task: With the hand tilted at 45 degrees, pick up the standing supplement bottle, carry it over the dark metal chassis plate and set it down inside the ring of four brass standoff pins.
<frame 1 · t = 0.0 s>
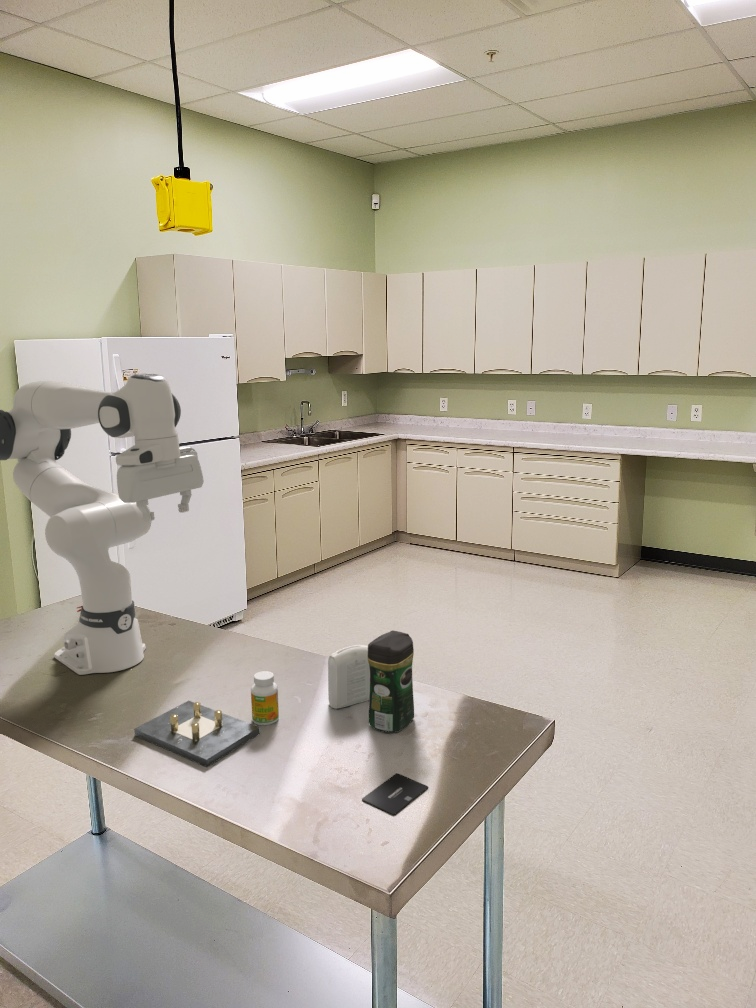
hand: (167, 516, 163), 39 cm above the table, tool pointing down, fingers open, 8 cm apart
coffee jar: (390, 723, 155), on the table
supplement bottle: (265, 720, 157), on the table
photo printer: (351, 702, 164), on the table
solid state drive: (395, 797, 131), on the table
chassis: (197, 734, 151), on the table
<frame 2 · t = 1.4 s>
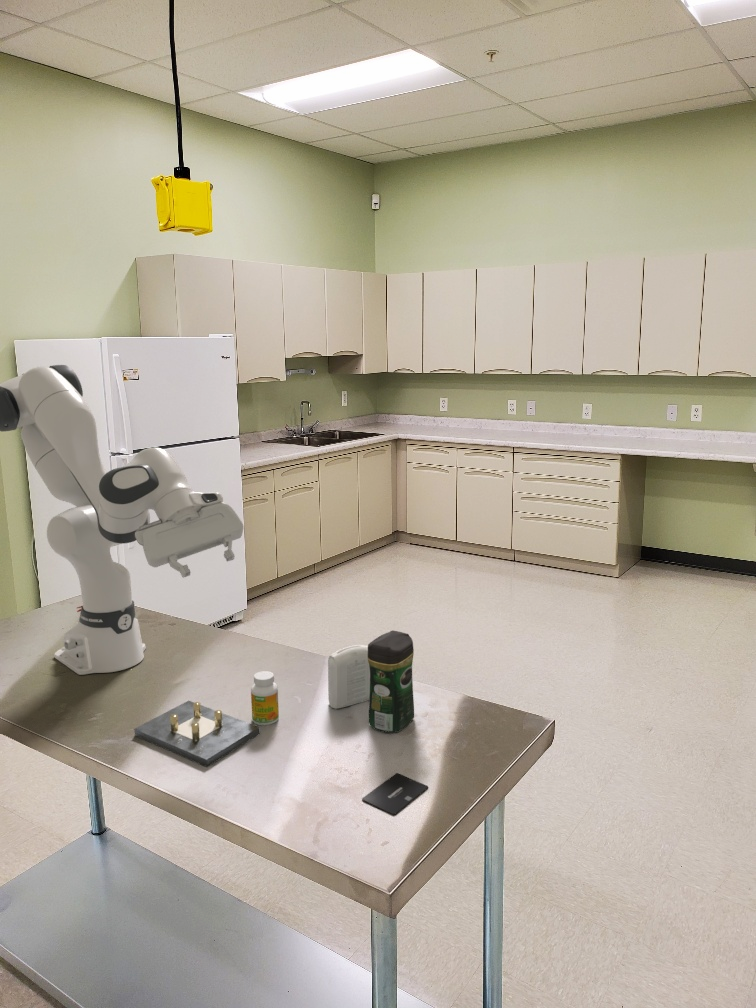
hand: (209, 567, 152), 32 cm above the table, tool tilted 50°, fingers open, 8 cm apart
nothing on the table moved.
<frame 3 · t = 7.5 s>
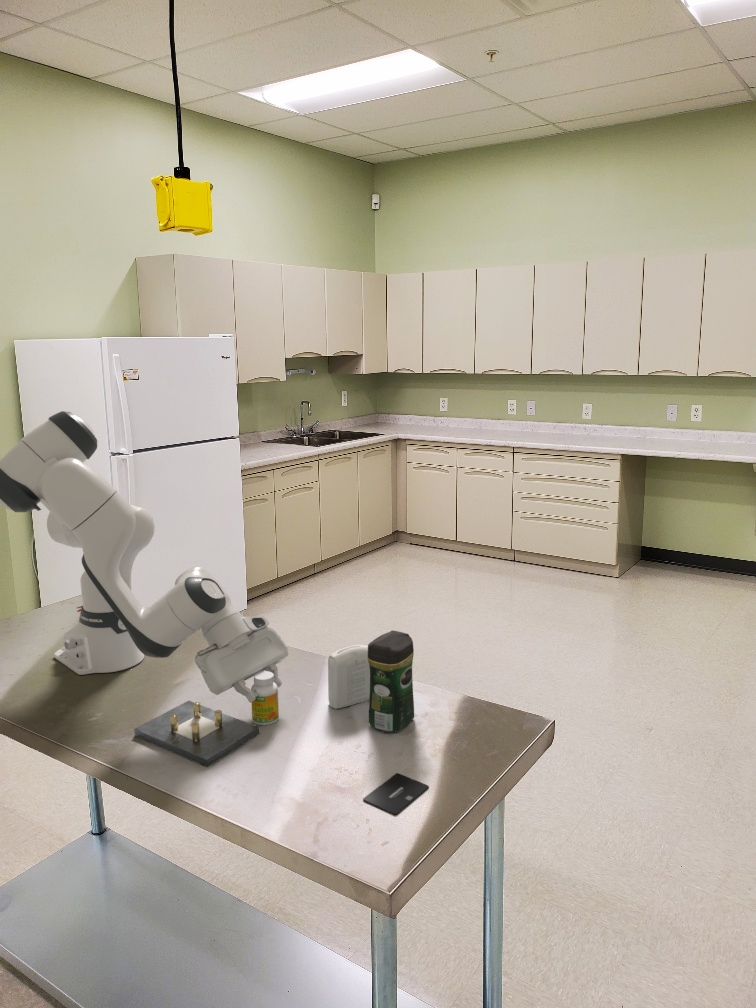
hand: (266, 693, 155), 6 cm above the table, tool tilted 45°, fingers closed on supplement bottle, 5 cm apart
supplement bottle: (265, 720, 157), on the table, touching gripper
everything else where it was.
when the fingers open (11 cm above the table, at t = 13.7 s): supplement bottle drops 2 cm, resting on chassis.
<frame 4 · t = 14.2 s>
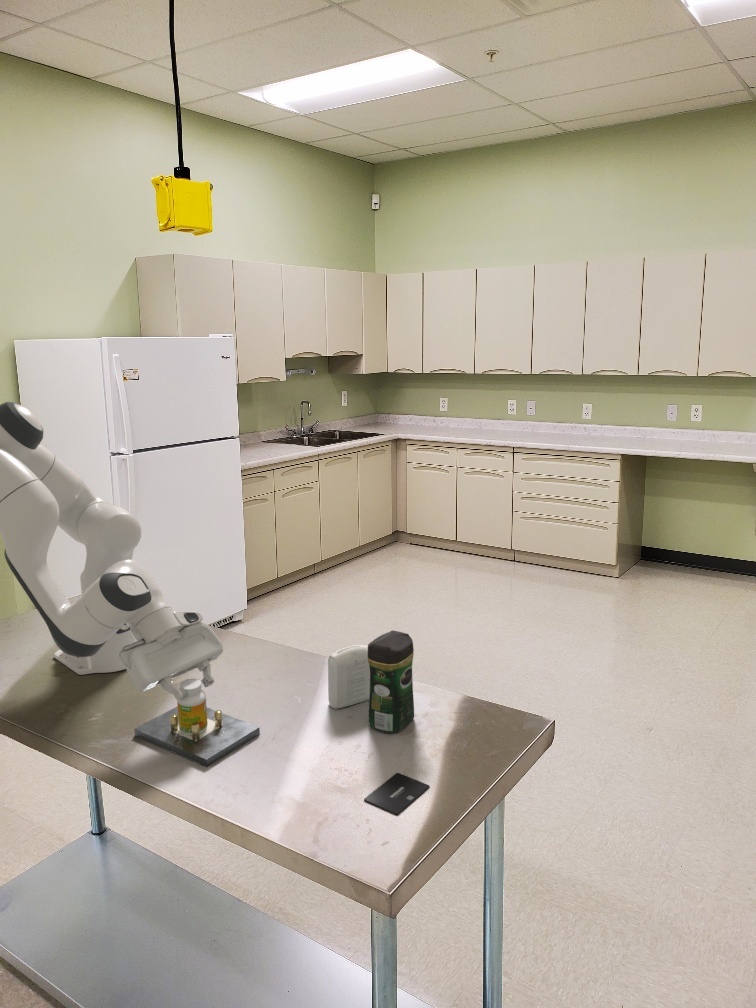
hand: (196, 691, 148), 10 cm above the table, tool tilted 45°, fingers open, 5 cm apart
supplement bottle: (193, 728, 150), point 2 cm above the table, touching chassis, gripper
everything else where it was.
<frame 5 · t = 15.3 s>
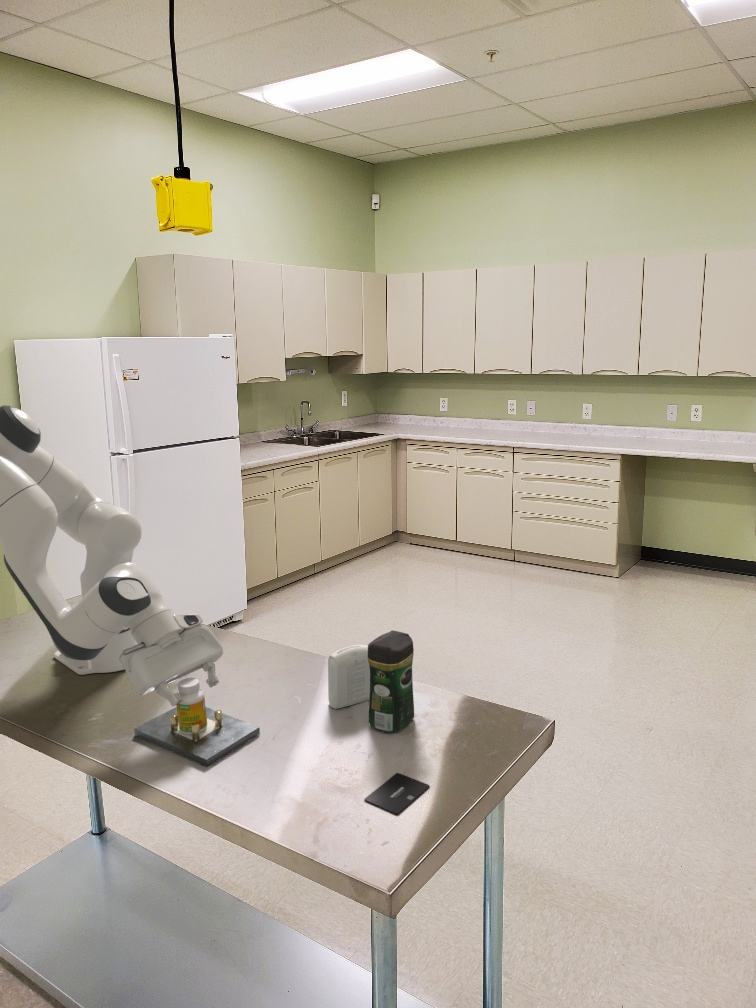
hand: (196, 694, 148), 9 cm above the table, tool tilted 45°, fingers open, 8 cm apart
supplement bottle: (193, 729, 150), point 2 cm above the table, touching chassis
everything else where it was.
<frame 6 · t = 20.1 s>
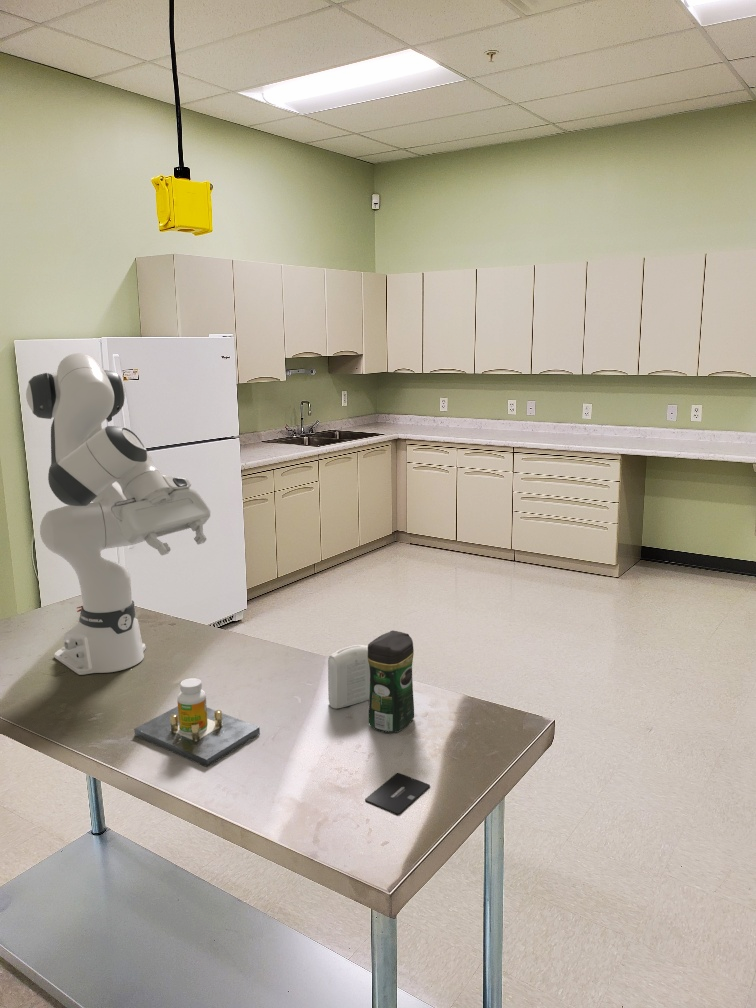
hand: (185, 547, 156), 34 cm above the table, tool tilted 45°, fingers open, 8 cm apart
nothing on the table moved.
at the end: supplement bottle 0.7 cm off-centre on the chassis, point 1.4 cm above the chassis's base; supplement bottle tilted 1°; the gripper is holding nothing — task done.
